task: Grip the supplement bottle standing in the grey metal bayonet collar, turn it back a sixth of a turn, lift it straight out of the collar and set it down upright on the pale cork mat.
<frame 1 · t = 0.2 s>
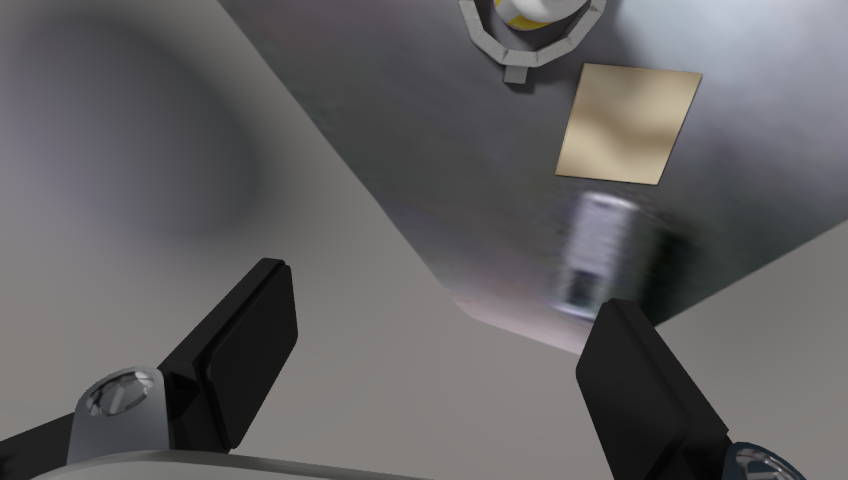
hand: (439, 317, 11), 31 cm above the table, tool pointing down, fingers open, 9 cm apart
mat: (621, 127, 36), on the table
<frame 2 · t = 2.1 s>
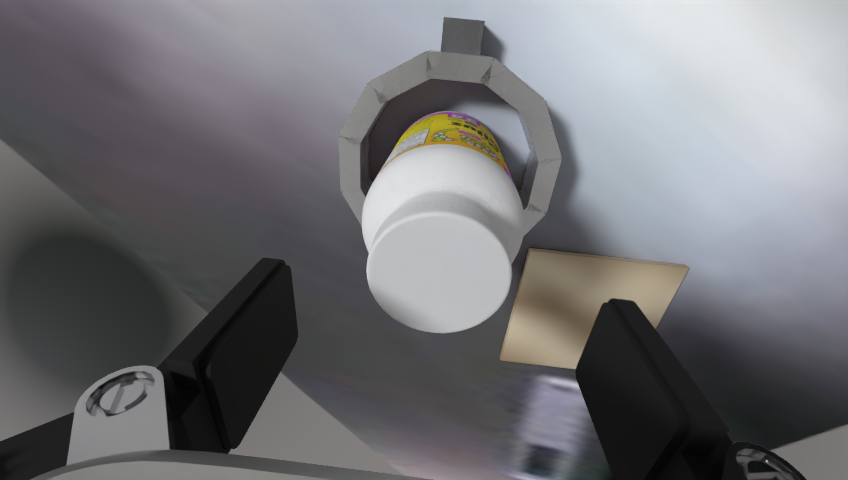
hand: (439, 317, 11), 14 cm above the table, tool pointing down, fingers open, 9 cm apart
collar: (446, 162, 22), on the table
mat: (583, 315, 27), on the table
supplement bottle: (446, 161, 22), resting in collar
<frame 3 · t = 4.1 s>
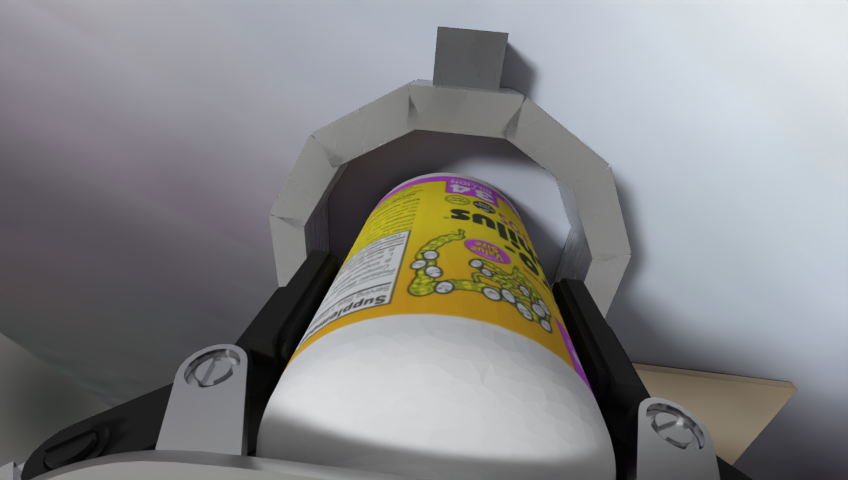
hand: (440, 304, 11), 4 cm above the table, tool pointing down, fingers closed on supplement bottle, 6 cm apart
collar: (444, 242, 15), on the table
mat: (634, 437, 20), on the table
supplement bottle: (444, 240, 15), resting in collar, touching gripper
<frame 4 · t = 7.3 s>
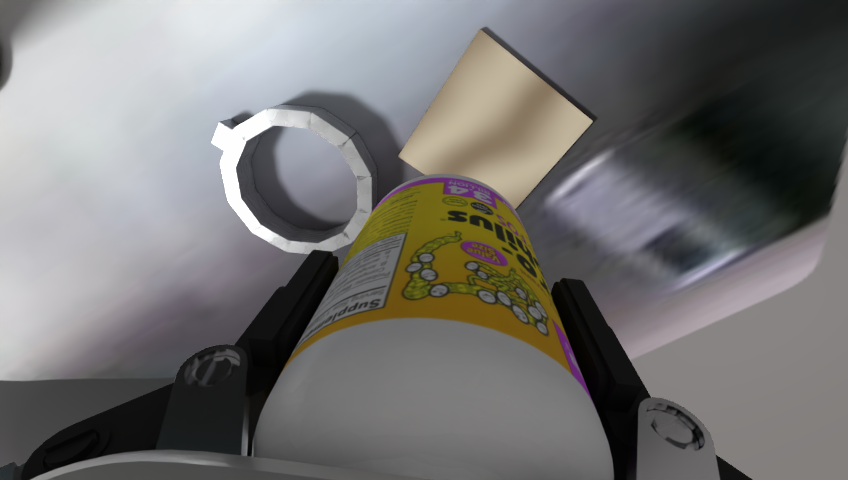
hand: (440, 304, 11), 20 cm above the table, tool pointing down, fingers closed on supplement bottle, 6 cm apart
collar: (308, 179, 31), on the table
mat: (491, 138, 28), on the table
supplement bottle: (443, 241, 15), point 16 cm above the table, touching gripper
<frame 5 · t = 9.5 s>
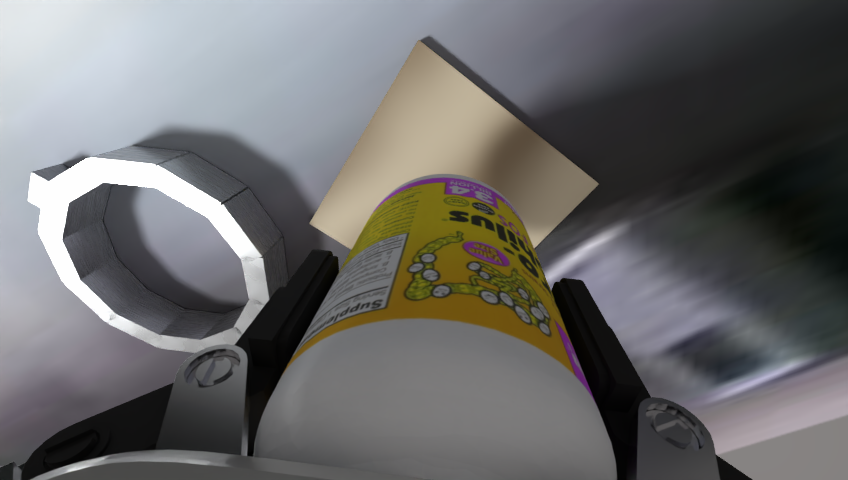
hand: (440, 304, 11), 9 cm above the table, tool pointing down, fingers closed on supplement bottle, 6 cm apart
collar: (187, 248, 22), on the table
mat: (445, 202, 19), on the table
supplement bottle: (444, 241, 15), point 5 cm above the table, touching gripper
when the fingers open (6 cm above the table, at t = 11.1 s): supplement bottle drops 1 cm, resting on mat.
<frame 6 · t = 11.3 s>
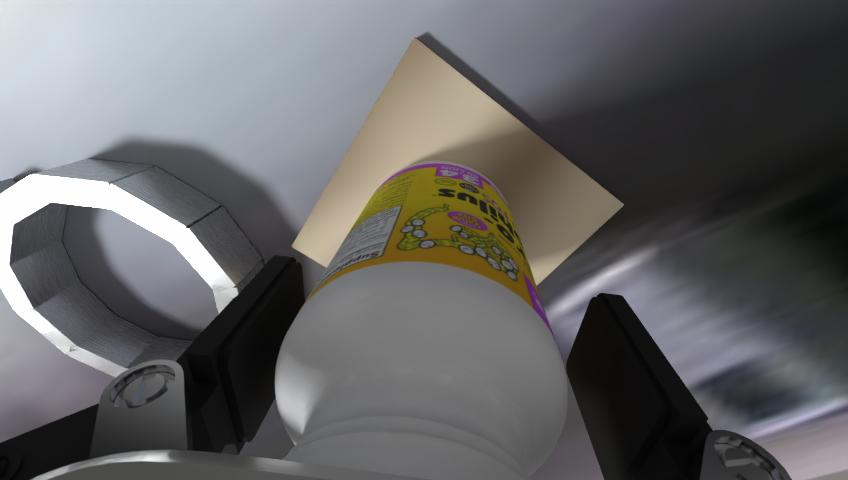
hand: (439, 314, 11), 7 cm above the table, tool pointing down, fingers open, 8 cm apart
collar: (157, 272, 19), on the table
mat: (445, 223, 17), on the table
supplement bottle: (438, 224, 16), resting on mat
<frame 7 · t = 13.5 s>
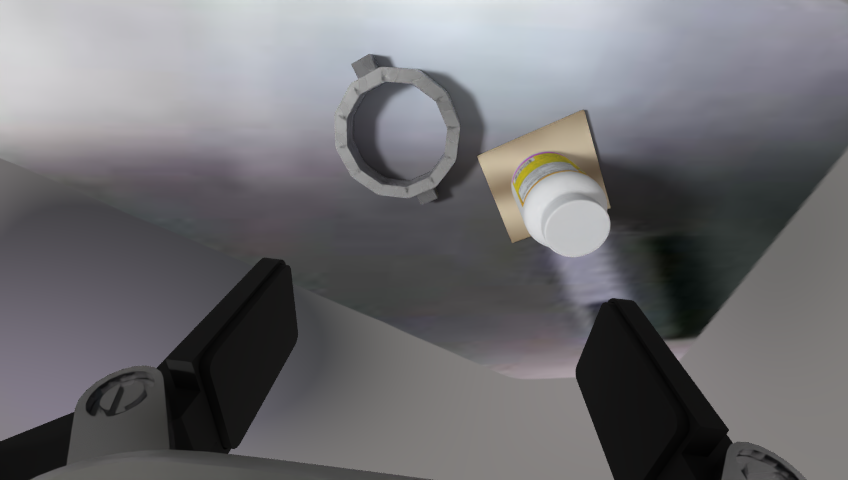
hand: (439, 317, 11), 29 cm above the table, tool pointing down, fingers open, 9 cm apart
collar: (400, 133, 37), on the table
mat: (544, 181, 38), on the table
supplement bottle: (541, 180, 37), resting on mat
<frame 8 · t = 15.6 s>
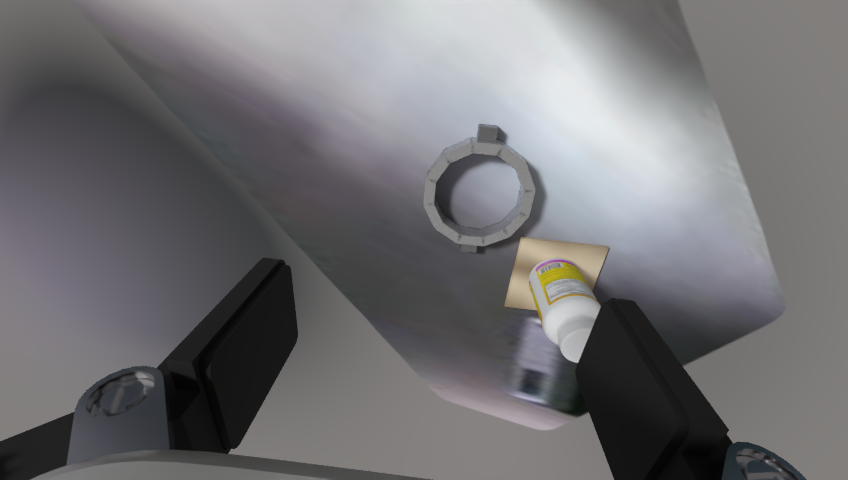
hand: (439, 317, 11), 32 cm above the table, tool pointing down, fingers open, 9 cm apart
collar: (477, 190, 42), on the table
mat: (553, 277, 47), on the table
supplement bottle: (552, 275, 47), resting on mat
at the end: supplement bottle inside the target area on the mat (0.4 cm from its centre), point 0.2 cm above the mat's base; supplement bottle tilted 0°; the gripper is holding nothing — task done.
